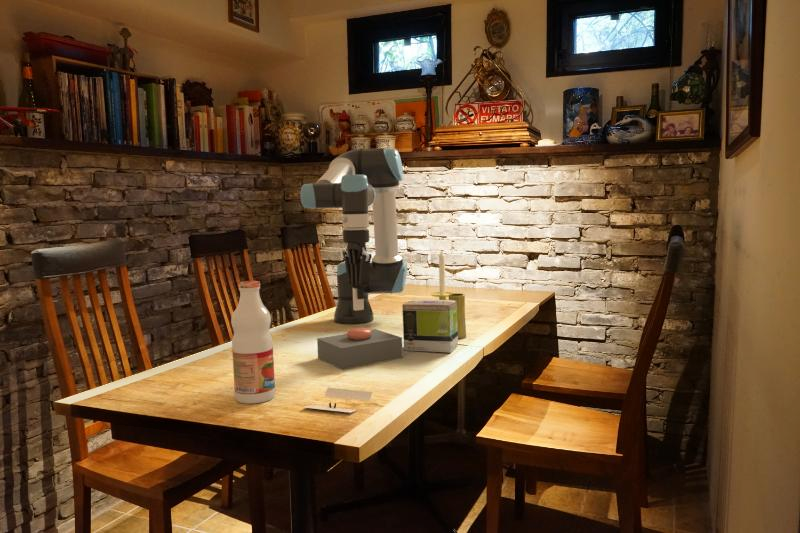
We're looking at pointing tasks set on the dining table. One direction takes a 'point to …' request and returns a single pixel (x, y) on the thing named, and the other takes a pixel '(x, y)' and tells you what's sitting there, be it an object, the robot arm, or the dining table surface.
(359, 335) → the button
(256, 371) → the fruit juice
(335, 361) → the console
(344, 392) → the beige flat rectangular pieces
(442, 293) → the candle
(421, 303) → the tea box
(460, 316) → the vase
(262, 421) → the dining table surface
